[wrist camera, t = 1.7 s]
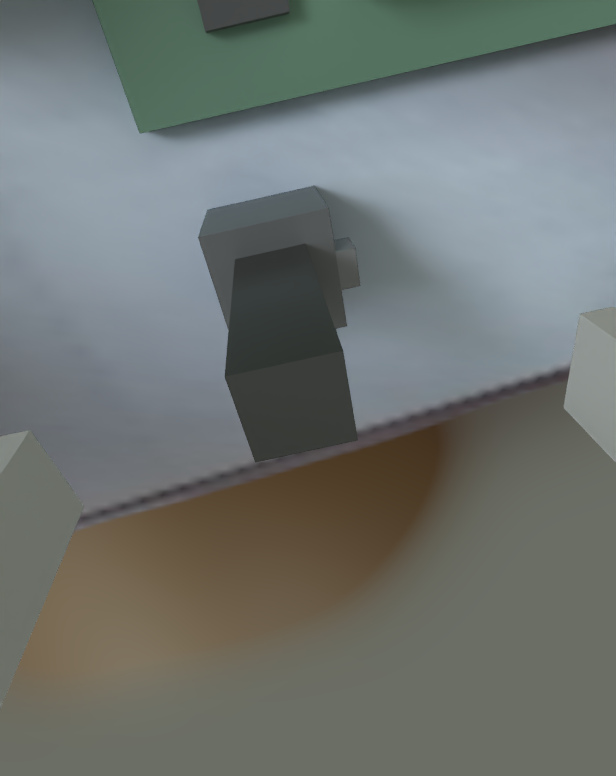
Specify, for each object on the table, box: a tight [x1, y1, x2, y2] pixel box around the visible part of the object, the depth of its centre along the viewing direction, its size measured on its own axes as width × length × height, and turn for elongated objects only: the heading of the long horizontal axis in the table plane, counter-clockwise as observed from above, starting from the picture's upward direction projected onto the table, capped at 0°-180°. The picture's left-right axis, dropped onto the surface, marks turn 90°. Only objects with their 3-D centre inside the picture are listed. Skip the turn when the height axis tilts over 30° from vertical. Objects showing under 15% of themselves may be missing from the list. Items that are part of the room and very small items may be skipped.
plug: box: [198, 186, 360, 462], centre depth 16 cm, size 6×5×13 cm
